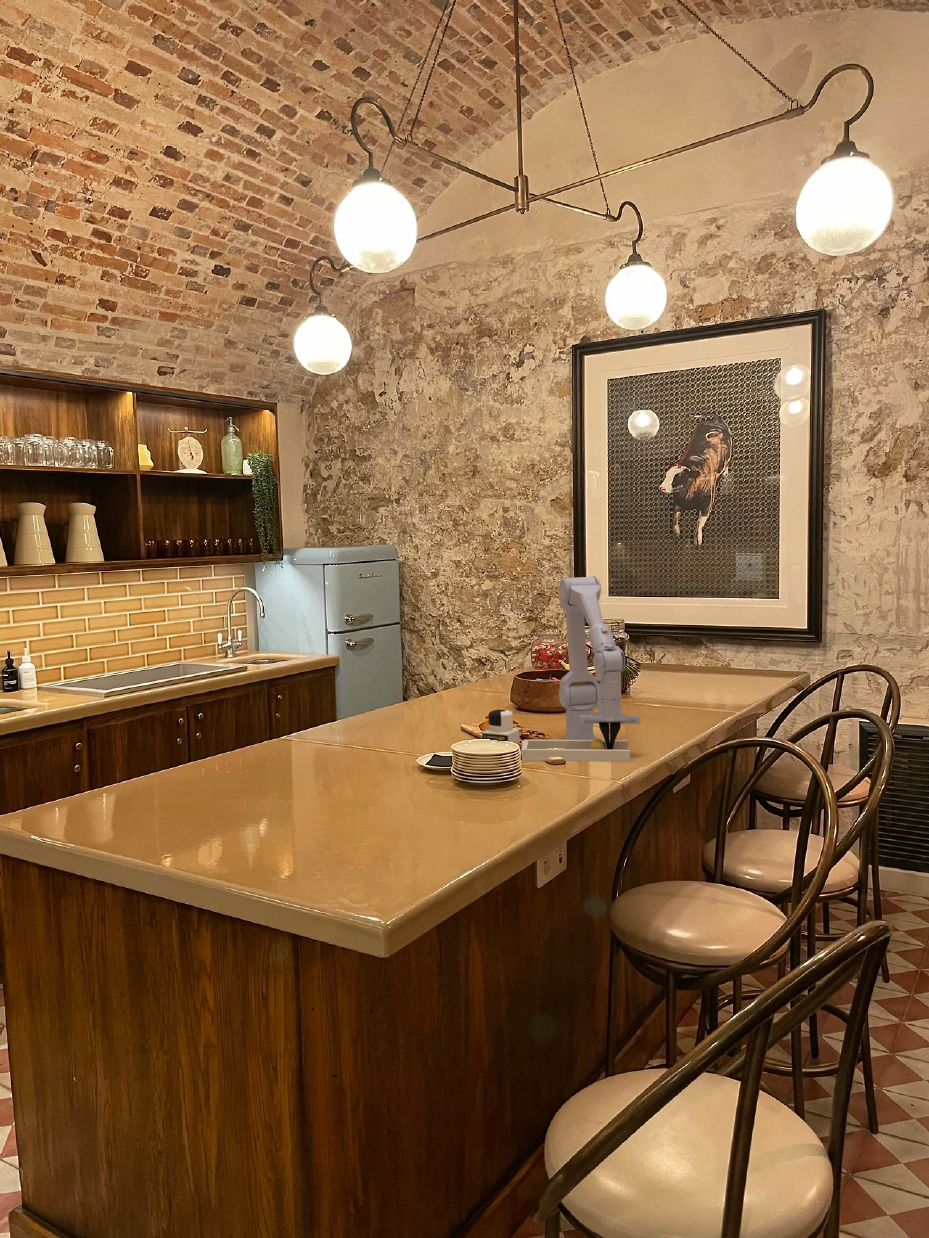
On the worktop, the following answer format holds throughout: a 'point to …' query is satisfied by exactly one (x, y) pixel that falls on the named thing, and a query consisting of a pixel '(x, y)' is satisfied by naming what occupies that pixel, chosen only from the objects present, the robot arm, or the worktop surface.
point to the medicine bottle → (501, 727)
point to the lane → (573, 751)
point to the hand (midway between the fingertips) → (609, 752)
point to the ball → (598, 745)
